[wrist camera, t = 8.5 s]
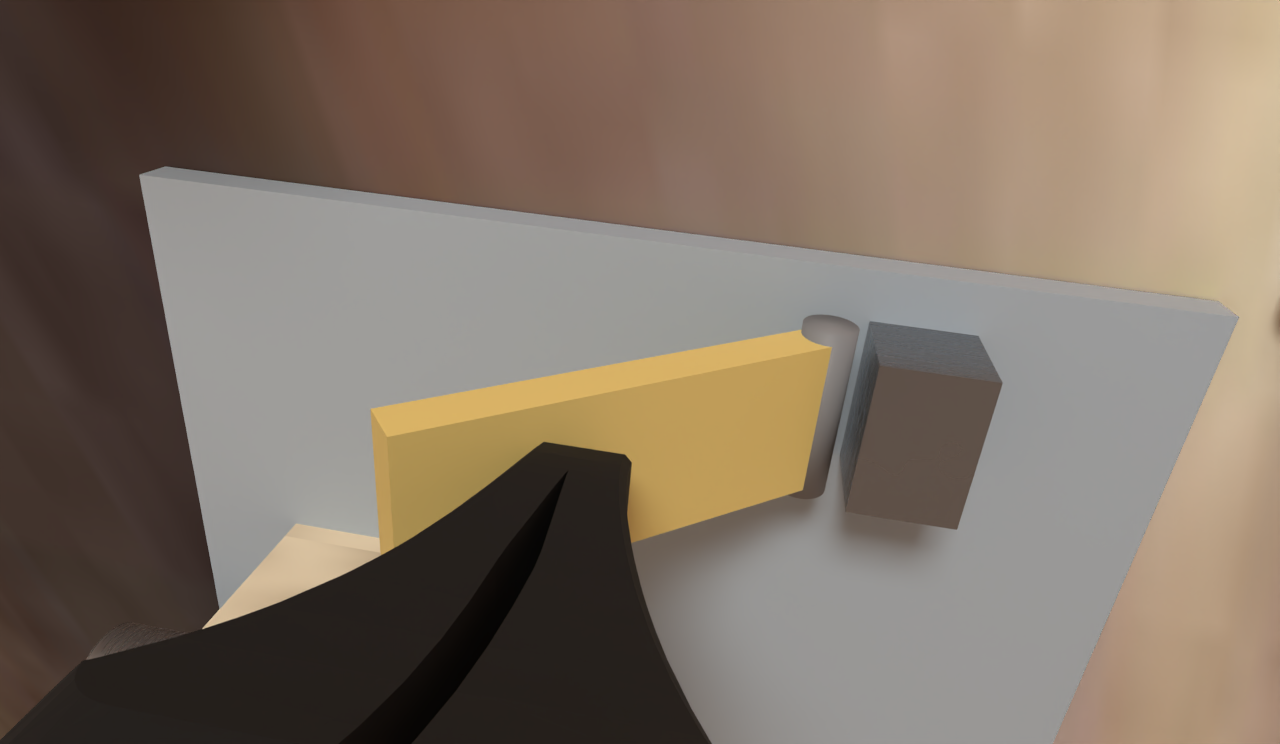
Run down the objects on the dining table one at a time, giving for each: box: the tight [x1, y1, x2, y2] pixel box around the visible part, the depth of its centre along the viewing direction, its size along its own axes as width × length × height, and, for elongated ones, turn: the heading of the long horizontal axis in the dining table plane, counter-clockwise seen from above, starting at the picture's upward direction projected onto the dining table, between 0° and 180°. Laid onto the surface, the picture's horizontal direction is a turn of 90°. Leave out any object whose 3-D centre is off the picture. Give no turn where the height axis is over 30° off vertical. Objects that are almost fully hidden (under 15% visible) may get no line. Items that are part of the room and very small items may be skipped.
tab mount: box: [840, 321, 1003, 530], centre depth 15 cm, size 2×3×2 cm, turn 175°
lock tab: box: [370, 315, 860, 555], centre depth 14 cm, size 8×3×1 cm
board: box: [139, 167, 1239, 744], centre depth 20 cm, size 21×17×1 cm
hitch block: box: [202, 524, 381, 629], centre depth 19 cm, size 7×8×5 cm
